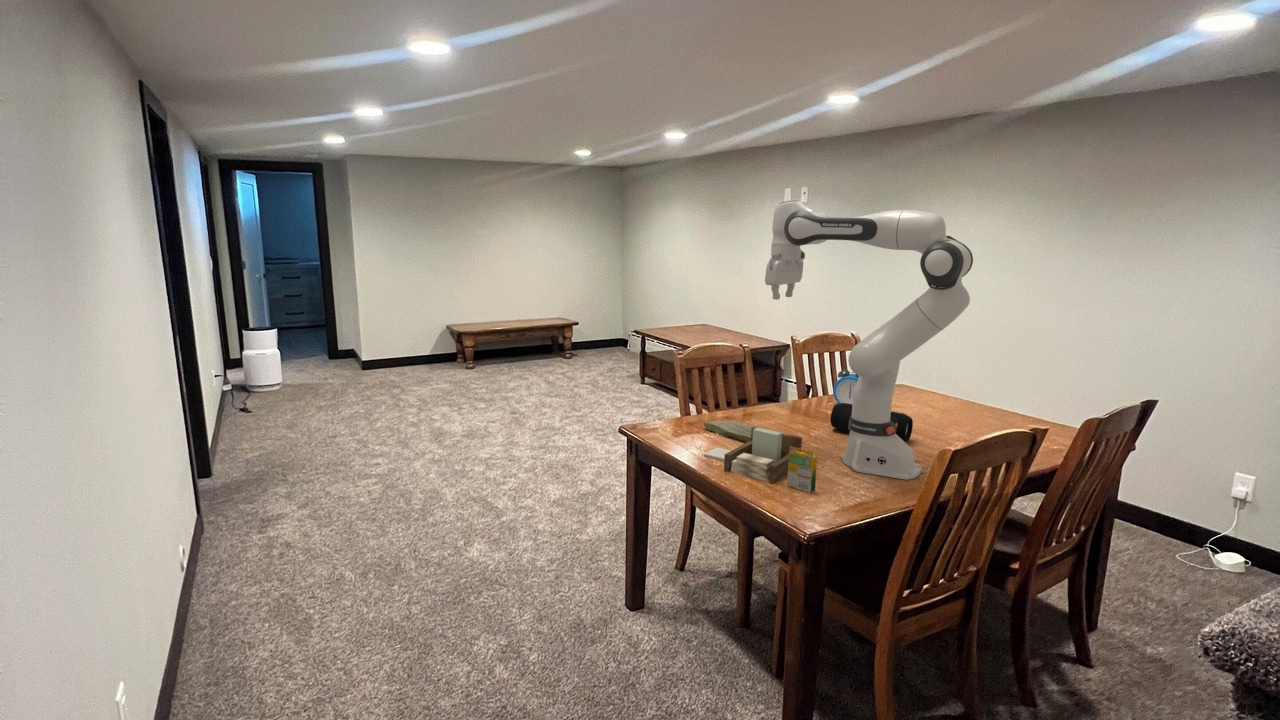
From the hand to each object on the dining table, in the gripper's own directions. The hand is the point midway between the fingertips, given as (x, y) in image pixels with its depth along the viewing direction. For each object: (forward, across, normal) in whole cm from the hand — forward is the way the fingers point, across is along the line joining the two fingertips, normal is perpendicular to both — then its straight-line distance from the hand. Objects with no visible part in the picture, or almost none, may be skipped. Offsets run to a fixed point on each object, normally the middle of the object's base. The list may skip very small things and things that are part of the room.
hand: (782, 298), depth 212 cm
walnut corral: (+48, -25, -8) cm, 55 cm away
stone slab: (+49, 0, +10) cm, 50 cm away
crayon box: (+48, -31, -23) cm, 62 cm away
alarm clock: (+48, +60, -5) cm, 77 cm away
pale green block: (+48, -22, -8) cm, 53 cm away
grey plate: (+48, -22, +6) cm, 53 cm away
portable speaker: (+48, +28, -23) cm, 60 cm away
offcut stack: (+48, -30, -8) cm, 58 cm away
